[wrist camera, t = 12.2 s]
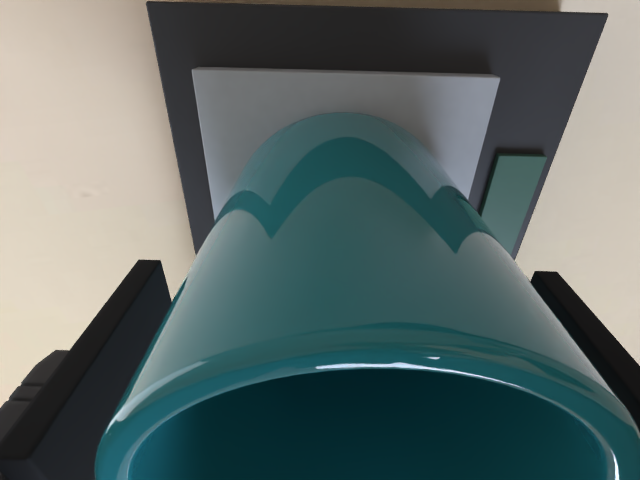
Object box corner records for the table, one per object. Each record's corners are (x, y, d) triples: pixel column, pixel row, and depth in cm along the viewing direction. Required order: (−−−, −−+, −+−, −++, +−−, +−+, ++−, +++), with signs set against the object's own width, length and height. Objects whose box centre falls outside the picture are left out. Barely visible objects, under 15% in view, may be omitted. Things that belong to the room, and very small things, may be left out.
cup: (314, 349, 20) (306, 643, 11) (194, 162, 15) (-53, 445, 5) (476, 302, 18) (638, 612, 9) (411, 64, 13) (682, 225, 3)
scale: (175, 3, 15) (134, 0, 12) (561, 13, 15) (626, 13, 12) (226, 319, 24) (211, 365, 21) (461, 325, 24) (481, 372, 21)
